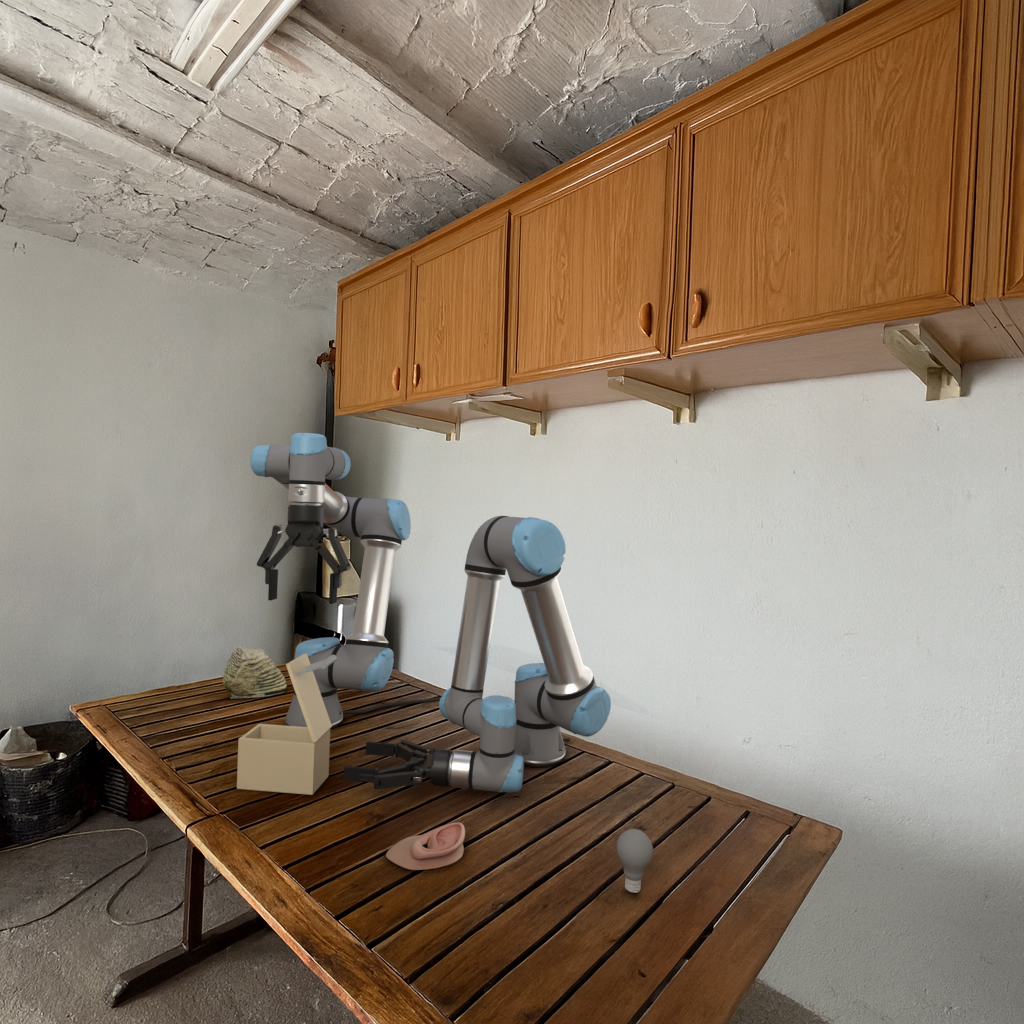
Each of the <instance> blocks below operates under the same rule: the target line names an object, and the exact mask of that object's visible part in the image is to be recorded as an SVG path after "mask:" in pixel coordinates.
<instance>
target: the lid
mask: <svg viewBox="0 0 1024 1024" xmlns="http://www.w3.org/2000/svg"><path fill="white" fill-rule="evenodd" d="M336 660H337V657H336V655H331V656H330V657H328V658H327V659H325V660H323V661H320V662H317V663H314V664H310V661H309V659H308V656H307V653H305V654H303V655H301V656H299V657H298V658H296V659H295V658H294V659H293V660H290V661H289V662H287V663H286V664H285V666H286V669H287V672H288V675H289V678H290V681H291V685H292V687H293V691H294V690H295V693H296V695H297V698H298V701H299V704H300V707H301V710H302V713H303V716H304V719H305V721H306V724H307V727H308V730H309V733H310V736H311V739H312V742H316V741H317V740H318V739H319V738H320V737H321V736H322V735H323V734H324V733H326V732H327V731H328V730H329V729H330V728H331V727H332V725H331V722H330V719H329V716H328V713H327V710H326V708H325V705H324V702H323V699H322V696H321V693H320V690H319V687H318V685H317V682H316V679H315V676H314V673H313V670H316V669H319V668H321V669H325V668H327V667H328V666H329V665H331V664H332V663H334V662H335V661H336ZM330 730H331V729H330Z"/></svg>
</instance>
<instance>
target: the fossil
mask: <svg viewBox="0 0 1024 1024" xmlns="http://www.w3.org/2000/svg"><path fill="white" fill-rule="evenodd" d="M222 676H223V677H222V685H223V687H224V688H225V690H226V691H228V693H229V698H230V699H250V698H264V697H271V696H275V695H281V694H284V693H285V691H286V689H287V687H288V686H287V680H286V678H285V676H284V674H283V673H282V672H281V669H279V668H278V667H277V665H276V663H275V662H274V660H273V659H272V658H271V657H270V656H269V655H268V654H267V653H266V652H265V650H264V649H263V648H260V647H258V648H251V647H247V646H246V647H245V646H238V647H237V648H236V649H235V650H233V651H232V653H231V656H230V657H229V659H228V660H227V663H226V666H225V668H224V671H223V675H222Z"/></svg>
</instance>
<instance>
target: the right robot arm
mask: <svg viewBox="0 0 1024 1024" xmlns="http://www.w3.org/2000/svg"><path fill="white" fill-rule="evenodd" d="M566 550H567V547H566V542H565V537H564V535H563V534H562V532H561V530H560V529H559V527H558V526H556V525H555V524H554V523H553V522H550V521H549V520H546V519H541V518H538V517H534V516H533V517H532V516H531V517H529V516H528V517H522V516H521V517H519V516H510V515H509V516H508V515H496V516H494V517H491V518H489V519H487V520H486V521H484V522H483V523H482V524H481V525H480V526H479V527H478V528H477V530H476V532H475V533H474V535H473V537H472V539H471V541H470V544H469V547H468V549H467V553H466V557H465V563H464V569H463V570H464V573H465V574H466V575H467V579H466V584H465V585H466V586H465V592H464V599H463V603H462V604H463V605H462V612H461V616H460V617H461V618H460V625H459V630H458V638H457V645H456V652H455V657H454V658H455V659H454V665H453V669H452V670H453V671H452V678H451V682H450V683H451V684H450V687H449V688H447V689H446V690H445V691H444V692H443V694H442V695H441V696H440V697H441V698H440V700H439V702H438V709H439V711H440V714H441V716H443V717H444V718H445V719H446V720H448V721H449V722H450V723H451V724H453V725H456V726H458V727H460V728H463V729H464V730H467V732H470V733H471V734H473V735H475V736H477V737H479V747H478V748H479V749H478V750H479V751H474V750H463V749H455V750H454V751H453V750H452V749H451V748H450V749H449V748H435V747H427V746H424V745H421V744H419V743H415V742H412V741H409V740H406V739H400V742H396V743H391V742H378V741H369V740H368V741H366V742H365V755H369V756H381V757H392V758H401V759H403V760H404V761H405V762H404V763H403V764H402V765H398V766H397V765H396V766H393V767H388V768H383V769H380V770H379V769H378V767H363V766H353V765H345V766H344V768H343V769H344V770H343V781H347V782H348V781H350V782H360V783H371V784H373V789H374V790H384V789H393V788H401V787H409V786H418V787H421V786H423V784H424V783H423V781H424V779H429V780H430V783H431V785H432V787H433V786H434V787H444V788H447V787H449V786H451V788H457V789H461V790H463V791H465V790H467V789H468V790H479V791H487V792H496V793H499V794H501V793H519V792H520V791H521V789H522V787H523V781H524V770H525V769H524V768H525V767H531V768H549V767H553V766H557V765H559V764H561V763H563V762H564V761H565V759H566V751H567V750H566V745H565V742H571V741H572V740H571V738H570V737H563V735H562V734H563V733H562V731H561V730H562V729H564V730H566V731H568V732H570V733H572V734H574V735H578V736H582V737H585V738H588V737H592V736H594V735H596V734H597V733H599V732H600V731H601V730H602V729H603V728H604V726H605V725H606V722H607V721H608V718H609V716H610V713H611V708H612V700H611V699H612V698H611V695H610V693H609V692H608V691H607V689H604V688H603V687H601V686H598V685H597V683H596V680H595V676H594V673H593V671H592V669H591V668H590V667H588V666H587V665H584V663H583V659H582V655H581V652H580V648H579V646H578V643H577V639H576V636H575V633H574V630H573V626H572V622H571V620H570V617H569V612H568V610H567V606H566V603H565V599H564V596H563V593H562V590H561V587H560V584H559V583H560V582H559V579H558V578H559V576H560V574H561V573H562V565H563V564H564V561H565V557H564V555H565V554H566ZM506 572H507V575H508V578H509V581H510V584H511V586H512V587H513V588H515V589H518V590H520V593H521V597H522V599H523V602H524V605H525V609H526V610H527V614H528V618H529V621H530V624H531V627H532V630H533V633H534V636H535V640H536V642H537V643H536V644H537V646H538V649H539V651H540V655H541V658H542V661H543V662H531V663H526V664H522V665H520V666H519V667H518V668H517V669H516V672H515V680H514V699H513V698H511V697H509V696H503V695H497V694H495V695H488V696H486V697H484V698H483V695H484V687H485V681H486V675H487V669H488V663H489V662H488V661H489V657H490V656H489V655H490V648H491V642H492V636H493V628H494V622H495V616H496V609H497V604H498V595H499V591H500V590H499V589H500V584H501V580H503V579H504V578H506Z"/></svg>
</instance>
